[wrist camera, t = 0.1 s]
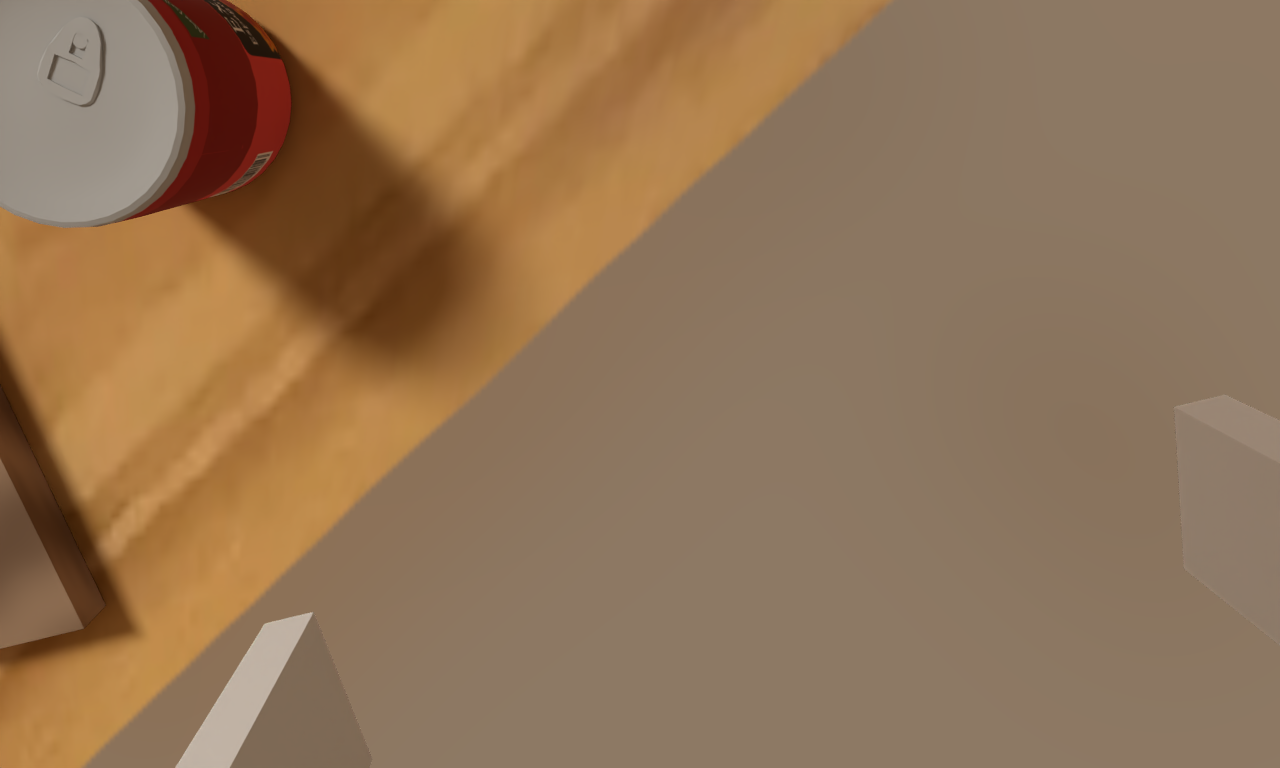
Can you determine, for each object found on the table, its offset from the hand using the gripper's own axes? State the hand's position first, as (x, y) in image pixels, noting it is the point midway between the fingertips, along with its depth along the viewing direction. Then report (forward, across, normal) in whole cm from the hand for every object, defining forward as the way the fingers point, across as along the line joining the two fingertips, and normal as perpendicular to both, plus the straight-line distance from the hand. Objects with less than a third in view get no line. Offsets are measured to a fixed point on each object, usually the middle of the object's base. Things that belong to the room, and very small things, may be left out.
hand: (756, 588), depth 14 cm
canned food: (+28, -16, +11) cm, 35 cm away
